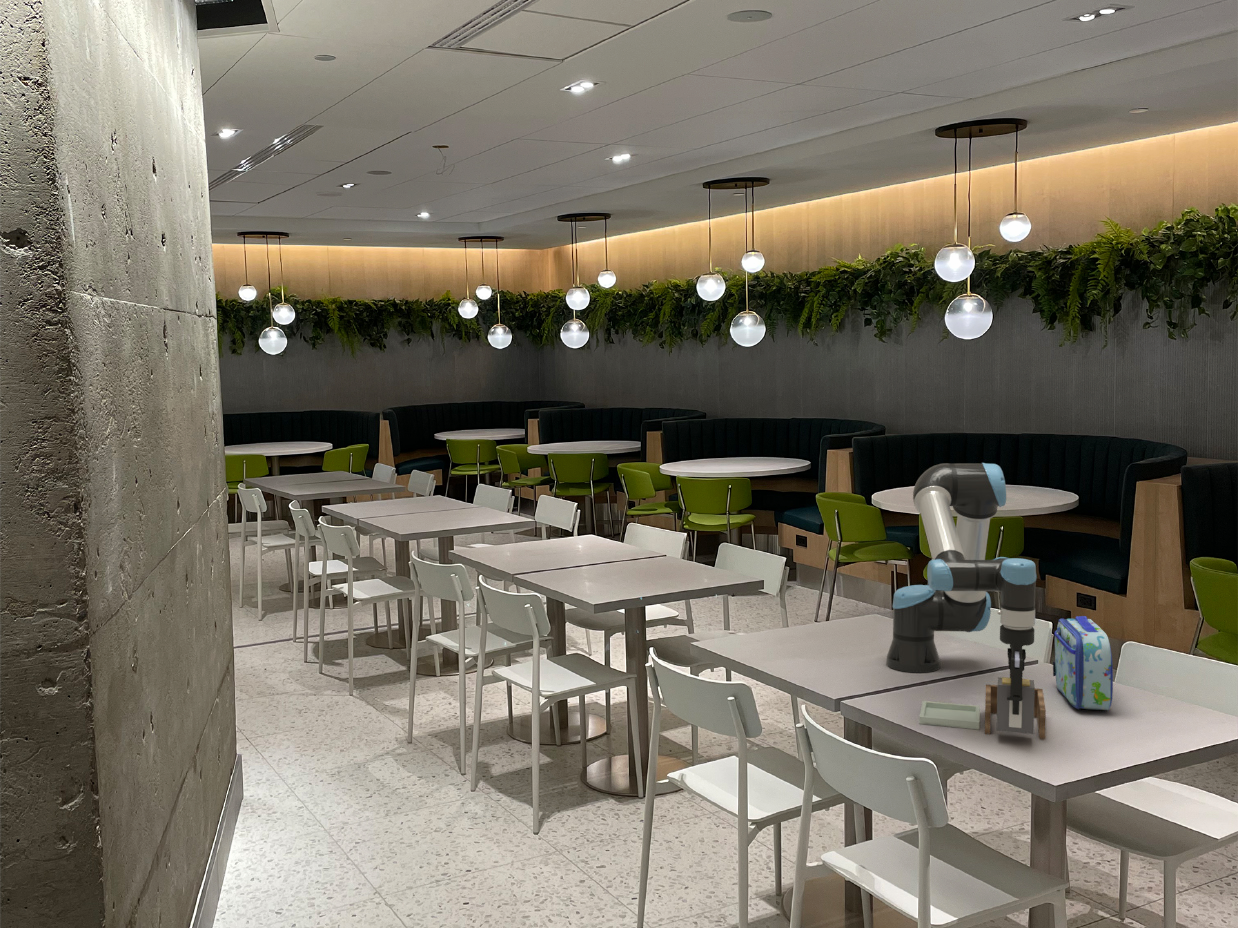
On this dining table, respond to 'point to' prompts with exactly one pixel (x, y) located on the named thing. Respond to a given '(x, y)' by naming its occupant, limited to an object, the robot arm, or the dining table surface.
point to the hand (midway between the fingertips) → (1014, 721)
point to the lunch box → (1083, 664)
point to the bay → (992, 708)
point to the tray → (950, 715)
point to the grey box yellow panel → (1027, 706)
